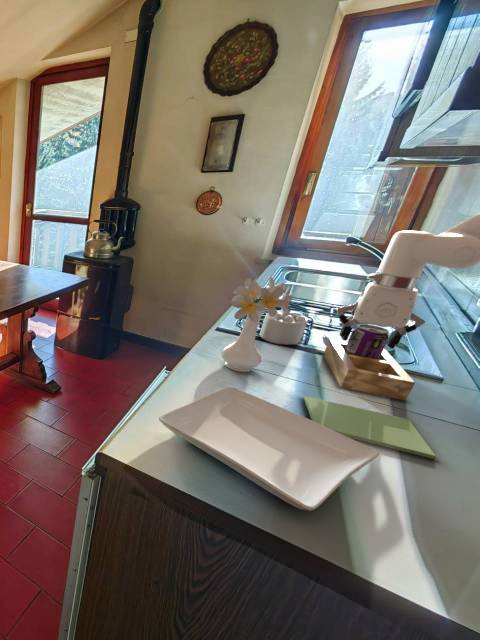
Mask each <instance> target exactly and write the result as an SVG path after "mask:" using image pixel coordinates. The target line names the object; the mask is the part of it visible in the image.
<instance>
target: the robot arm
mask: <svg viewBox="0 0 480 640" xmlns="http://www.w3.org/2000/svg"><path fill="white" fill-rule="evenodd" d="M426 264H427V265H432V266H437V267H442V268H446V269H452V270H453V269H454V270H455V269H456V270H457V269H458V270H461V269H467V268H471V267H474V266H476V265H479V264H480V212H478V213H476V214H474V215H473V216H470V217H468V218H467V219H464V220H463V221H461V222H459V223H457V224H456V225H454V226H451V227H450V228H449V229H447V230H445V231H443V232H441V233H440V234H438V235H436V233H432V232H427V231H419V230H400V231H397V232H395V233H394V234H393V235H392V237H391V239H390V241H389V244H388V246H387V247H386V250H385V253H384V255H383V258H382V259H381V262H380V264H379V267H378V269H377V271H375V273H368V274H367V276H366V280H370V281H372V282H368V283H367V285H366V286H365V287H364V288H363V290H362V292H361V293H360V295H359V297H358V298H357V300H356V302H355V303H352V304H347V305H342V306H338V307H336V308H335V310H336V315H337V317H338V318H339V320H340V321H341V322H342V327H341V329H340V332H339V336H340V338H341V339H342V340H343V341H344V342H346V341H348V340H349V338H350V336H351V333H352V331H353V325H355V324H356V323H358V322H359V323H362V324H368V325H374V326H382V327H388V328H389V327H390V328H394V329H395V330H393V331H391V333H390V335H389V336H388V338H389V339H388V341H387V343H386V346H387V347H388V348H390V349H394V348H395V347H396V346H398V345H399V343H400V341H401V339H402V338H403V336H404V335H407V334H408V333H410V332H411V333H412V332H413V331H415V330H417V329H418V328H419V327H421V326H423V325H424V324H426V319H424V318H422V317H420V316H419V315H417V314H416V313H414V312H413V310H414V308H415V305H416V301H417V297H418V294H419V290H418V289H417V288H415V287H416V285H417V283H418V281H419V279H420V277H421V275H422V272H424V269H425V267H426ZM349 311H351V313H350V314H351V315H350V316H348V317H346V314H345V313H346V312H349ZM410 319H411V320H413V321H412V323H409V321H410ZM408 323H409V324H408Z"/></svg>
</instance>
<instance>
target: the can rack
mask: <svg viewBox="0 0 480 640" xmlns="http://www.w3.org/2000/svg"><path fill="white" fill-rule="evenodd" d="M347 343H348V342H346V341H340V340H333V339H329V340H328V342H327V344H326V347H325V349H324V352H323V358H324V360H325V361H326V363H327V364H328V366H329V368H330V371H331V372H332V373H333V375H334V378H335V380H336V381H337V383H338V385H339V387H340V388H343V389H349V390H353V391H358V392H363V393H368V394H373V395H378V396H382V397H386V398H391V399H392V398H393V399H397V400H402V401H407V399H408V398H409V395H410V394H411V392H412V389H413V388H414V386H415V384H416V382H415V381H414V379H413V378H412V377H411V376H410V375H409V374H408V373H407V372H406V371H405V369H404V368H403V367H402V366H401V365H400V364H399V363H398V362H397V361H396V359H395V358H393V356H392V355H391V353H389V351H388V350H386V349H385V348H384V349H383V351H382V353H381V356H380V358H379V360H378V359H373V358H367V357H361V356H356V355H350V354H347V353H346V352H345V350H344V349H345V347H346V345H347Z"/></svg>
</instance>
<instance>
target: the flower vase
mask: <svg viewBox="0 0 480 640" xmlns="http://www.w3.org/2000/svg"><path fill="white" fill-rule="evenodd" d="M257 280H258V278H257V277H256V278H254V279H253V280H252V279H251V278H250V277H247V279H245V281H244V284H243V286H242V285H238V286H236V288H235V289H234V290H233V291H232V294H235V295H234V296H233V298H232V299H230V302H229V303H230V305H231V306H232V307H234V308H237V309H238V310H236V312H235V313H234V319H236V320H241V319H243V318H245V317H246V319H245V321H244V324H243V327H242V330H241V332H240V334H239V335H238V337H237V338H236V339H235V341H234V342H232V343H230V344H227V345H226V346H224V347H223V349H222V351H221V354H220V356H221V358H222V360H223V361H224V365H225V367H226V368H228V369H230V370H232V371H235V372H240V373H249V372H251V371H252V369H255V368H256V367H258V366H260V365H261V364H262V359H263V358H262V354H261V352H260V351H259V349H258V348H257V344H256V335H257V331H258V327H259V324H260V320H261V318H262V316H263V314H264V312H265V311H266V310H267V313H269V315H270V316H271V317H275V316H276V313H277V311H278V310H277V308H280V310H282V311H283V313H284V315H285V311H286V313H287V314H288V315H289V313H290V311H291V310H290V303H291V302H292V301H293V299H294V295H293V294H290V293H291V290H292V285H290V286H288V288H287V289H286V287H287V285H286V283H285V282H278V283H277V284H276V281H275V280H274V278H273V276H269V277H268V285H266V286H265V287H262V286H261V285H259V284H258V282H257ZM284 290H285V292H284Z"/></svg>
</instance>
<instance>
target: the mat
mask: <svg viewBox="0 0 480 640" xmlns="http://www.w3.org/2000/svg"><path fill="white" fill-rule="evenodd" d="M303 400H304V402H305V406H306V409H307V412H308V415H309V418H310V420H311V421H314V422H316V423H318V424H320V425H323V426H325V427H327V428H329V429H331V430H333V431H336V432H338V433H340V434H342V435H344V436H346V437H349V438H351V439H353V440H356V441H357V440H358V441H361V442H366V443H369V444H372V445H377V446H381V447H385V448H387V449H393V450H396V451H401V452H403V453H409V454H411V455H412V454H413V455H415V456H416V455H417V456H420V457H424V458H428V459H433V460H435V459H436V457H437V455H436V454H435V453H434V451H433V450H432V448H431V447H430V446H429V444H428V443H427V442H426V440H425V439H424V437H422V435H421V434H420V433H419V431H418V430H417V429H416V428H415V426H414V424H413V423H412V422H411V420H410V419H409V418H405V417H401V416H397V415H391V414H388V413H382V412H379V411H374V410H370V409H365V408H360V407H357V406H351V405H347V404H342V403H339V402H334V401H329V400H326V399H320V398H315V397H312V396H306V395H305V396H304V397H303Z"/></svg>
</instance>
